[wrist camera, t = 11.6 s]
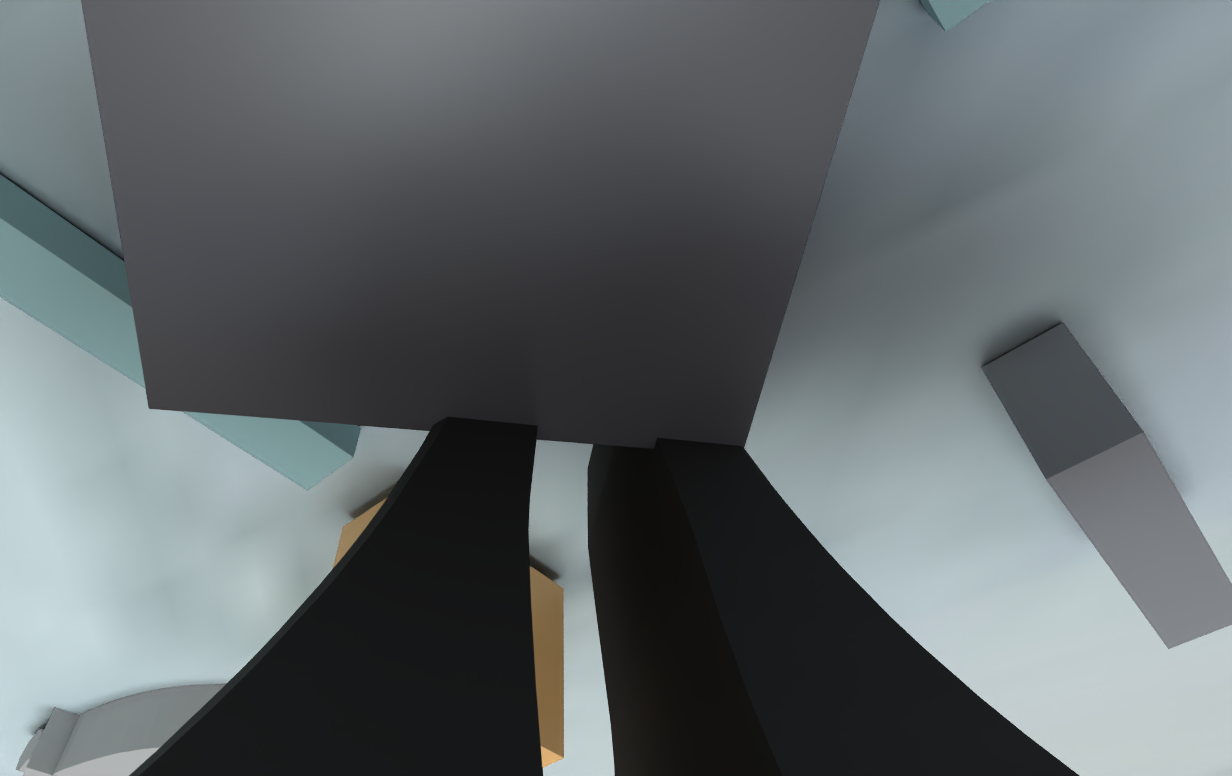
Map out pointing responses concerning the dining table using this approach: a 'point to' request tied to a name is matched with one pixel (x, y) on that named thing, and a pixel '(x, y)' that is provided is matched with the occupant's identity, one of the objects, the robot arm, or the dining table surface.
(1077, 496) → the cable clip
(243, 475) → the dining table surface
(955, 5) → the rails
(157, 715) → the adjustable wrench
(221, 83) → the plug block
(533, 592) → the orange l-shaped block
